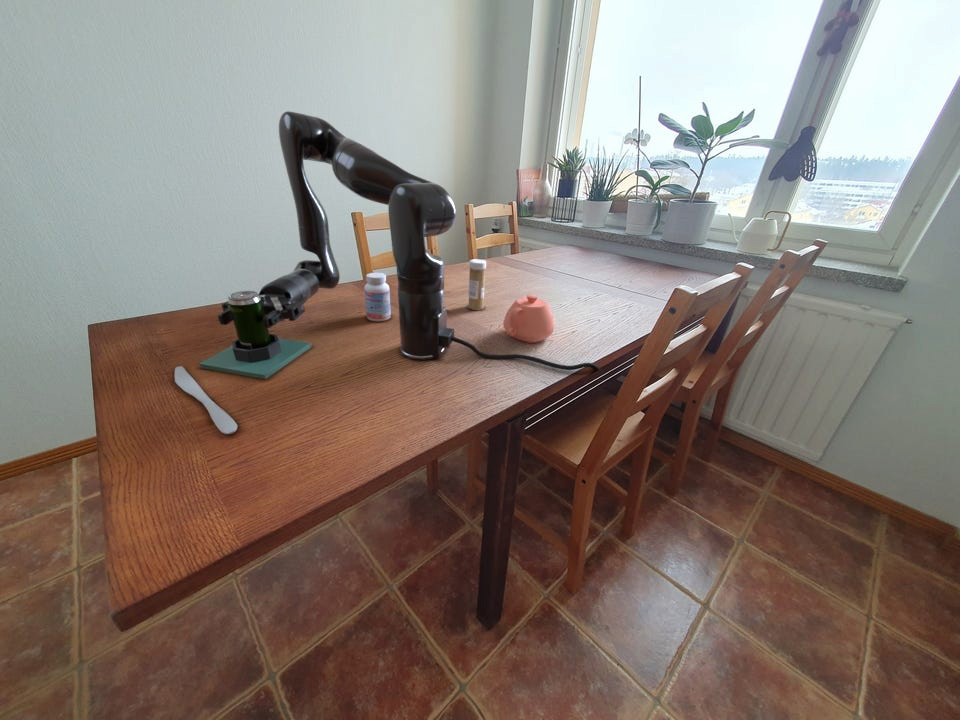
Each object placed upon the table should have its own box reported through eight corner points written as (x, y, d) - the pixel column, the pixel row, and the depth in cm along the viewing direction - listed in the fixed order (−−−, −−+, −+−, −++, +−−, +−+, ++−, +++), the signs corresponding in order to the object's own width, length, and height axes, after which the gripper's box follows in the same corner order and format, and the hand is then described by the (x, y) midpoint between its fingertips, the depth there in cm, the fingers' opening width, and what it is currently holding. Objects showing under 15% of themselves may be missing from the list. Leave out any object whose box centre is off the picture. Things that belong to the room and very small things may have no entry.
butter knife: (217, 436, 53) (239, 426, 55) (166, 370, 69) (185, 363, 71) (218, 440, 54) (241, 429, 56) (167, 372, 69) (186, 366, 71)
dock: (311, 347, 80) (309, 332, 79) (265, 379, 68) (261, 363, 67) (254, 338, 83) (251, 323, 81) (200, 368, 71) (194, 351, 69)
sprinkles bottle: (486, 309, 106) (489, 261, 100) (473, 311, 104) (475, 263, 98) (477, 304, 110) (480, 258, 103) (464, 306, 107) (466, 259, 101)
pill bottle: (362, 319, 95) (357, 276, 90) (376, 311, 100) (373, 270, 95) (382, 323, 93) (378, 279, 88) (395, 316, 98) (393, 273, 93)
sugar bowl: (561, 336, 92) (568, 297, 87) (528, 353, 83) (533, 310, 78) (522, 321, 99) (526, 284, 95) (487, 336, 90) (490, 295, 85)
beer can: (265, 359, 73) (250, 300, 67) (237, 357, 73) (219, 299, 67) (278, 346, 78) (265, 291, 72) (252, 345, 77) (237, 289, 72)
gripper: (251, 275, 82) (199, 300, 68) (315, 279, 82) (277, 305, 68) (259, 307, 86) (211, 337, 72) (320, 311, 86) (285, 342, 71)
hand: (243, 321), depth 70 cm, fingers open, 8 cm apart
